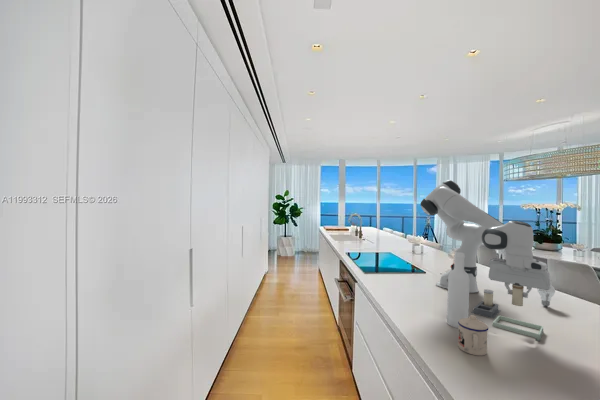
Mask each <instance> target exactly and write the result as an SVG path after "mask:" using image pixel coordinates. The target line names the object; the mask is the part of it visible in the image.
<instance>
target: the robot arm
mask: <svg viewBox="0 0 600 400" xmlns="http://www.w3.org/2000/svg"><path fill="white" fill-rule="evenodd" d="M461 191H462V190H461V188H460V186H459V184H458V183H456V182H455V181H453V180H451V179H447V180H444V181H443V182H442V183H441V184H440V185H438V186H436V187H434V189H432V190H431V192H430V193H428V194H427V195H426V197H425V198H423V199H422V200H421V201H420V208H421V209H422V212H424V213H425V214H427V215H429V216H435V215H438V217H439V218H440V219H441V221H442V222H443V223H444V224H445V226H446V230H445V231H446V235H447V236H448V237H449V238H451V239H452V240H455V241H460V242H461V244H460V247H459V248H457V249H456V250H455V251H454V253H455V252H461V253H464V256H465V258H464V271H465V272H466V273H467V274H468V276H469V279H470V281H469V294H471V293H472V294H473V293H478V292H479V291H480V290H479V288H478V282H477V275H478V267H477V257H478V251H479V248H480V247H481V246H482V245H484V247H486V248H487V249H489V250H493V251H500V250H501V251H503V250H504V251H505V259H503V258H495V257H493V258H490V259H489V260H488V268H489V270H488V278H489V280H490V281H495V282H500V283H504V286H505V288H506V290H507V295H510V296H512V289H511V287H510V285H512V284H515V283H519V284H520V285H521V286H524V287H526V290H527V291H523V298H525V299H528V298H529V293H530V292H531V291H532V290H533V289H542V290H549V289H550V288H551V285H552V280H551V275H550V272H549V271H548V270H547V269H548V264H547V263H546V262H544V261H541V260H539V259H538V260H537V259H536V258H534V253H533V247H534V231H533V227H532V224H531V225H530V224H529V223H527V222H523V221H521V220H519V221H518V220H509V221H508V222H506V223H503V222H501V221H500V220H498V219H497V218H495V217H494V216H492V215H490V214H489V213H487V212H486V211H484V210H482V209H481V208H480V207H478V206H477V205H475V204H474V203H472V202H471V201H469V200H468V199H466V198H465V197H464V196H463V195H461ZM468 222H470V223H468ZM450 268H451V269H450V270H448V271H446V272H445V273H442V275H441V276H440V279H439V281H437V282H436V283H435V286H436V287H439V288H443V289H447V290H448V276H449V274H450V272H451V271H452V270H453V269H454V262H453V263H452V264H451V265H450Z"/></svg>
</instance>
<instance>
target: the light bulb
mask: <svg viewBox="0 0 600 400" xmlns="http://www.w3.org/2000/svg"><path fill="white" fill-rule="evenodd" d="M536 289H537V288H536ZM537 293H538V294H539V296H540V299H541V302H540V303H541V305H542V306H543V307H545V308H548V307H550V305H551V301H552V298H553V297H554V296H555V294H556V288H555V287H554V286H553V285H552V284H551V288H550V289H549V290H542V289H537Z"/></svg>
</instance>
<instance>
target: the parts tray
mask: <svg viewBox="0 0 600 400" xmlns="http://www.w3.org/2000/svg"><path fill="white" fill-rule="evenodd" d="M500 320H501V321H504V322H509V323H512V324H516V325H520V326H523V327H528V328H532V329H535V330H539V331H538V333H537V332H533V331H529V330H524V329H522V328H518V327H513V326H510V325H506V324H502V323H500V322H499V321H500ZM492 327H495V328H499V329H503V330H506V331H510V332H514V333H517V334H520V335H524V336H528V337H531V338H534V339H535V341H536V342H540V341H541V339H542V336H543V334H544V326H543V325H539V324H535V323H533V322H532V323H531V322H527V321H523V320H519V319H515V318H512V317H508V316H504V315H499V314H498V315H497V316H496V317H495V318H494V320H493V322H492Z"/></svg>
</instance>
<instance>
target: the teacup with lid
mask: <svg viewBox="0 0 600 400" xmlns="http://www.w3.org/2000/svg"><path fill="white" fill-rule="evenodd" d="M458 324H459V328H458V337H457V347H458V349H460V351H462V352H464V353H466V354H469V355H474V356H485V355H487V352H488V332H489V331H488V330H489V326H488V324H487V323H485V322H483V321H482V320H480V319H478V318H477V316H476V315H474V314H470V316H468V318H462V319H460V320H459V321H458Z"/></svg>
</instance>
